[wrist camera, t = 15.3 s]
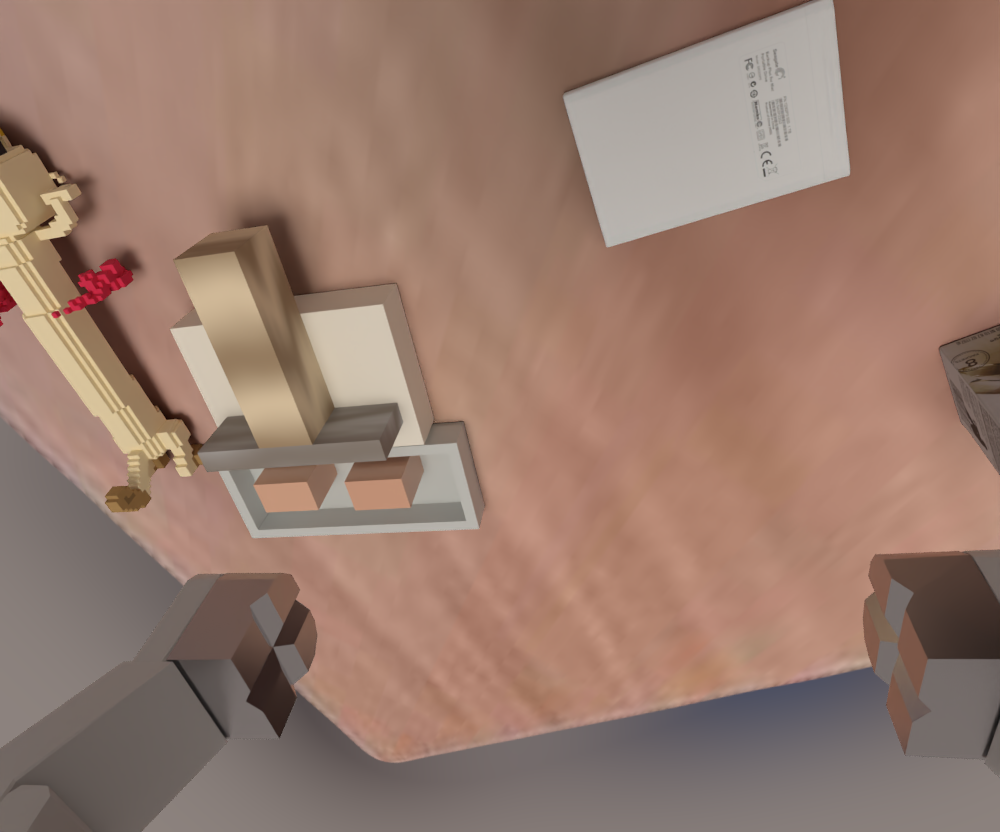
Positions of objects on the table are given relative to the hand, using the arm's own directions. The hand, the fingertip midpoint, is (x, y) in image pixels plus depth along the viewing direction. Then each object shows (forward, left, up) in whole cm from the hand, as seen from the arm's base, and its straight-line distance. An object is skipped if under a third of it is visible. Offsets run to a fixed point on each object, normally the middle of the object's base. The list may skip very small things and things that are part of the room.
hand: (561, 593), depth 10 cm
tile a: (+18, -23, -29) cm, 41 cm away
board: (+12, -20, -31) cm, 39 cm away
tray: (+21, -20, -31) cm, 43 cm away
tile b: (+19, -17, -29) cm, 38 cm away
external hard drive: (+1, +5, -32) cm, 32 cm away
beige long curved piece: (+6, -34, -32) cm, 47 cm away
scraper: (+8, -20, -28) cm, 35 cm away
